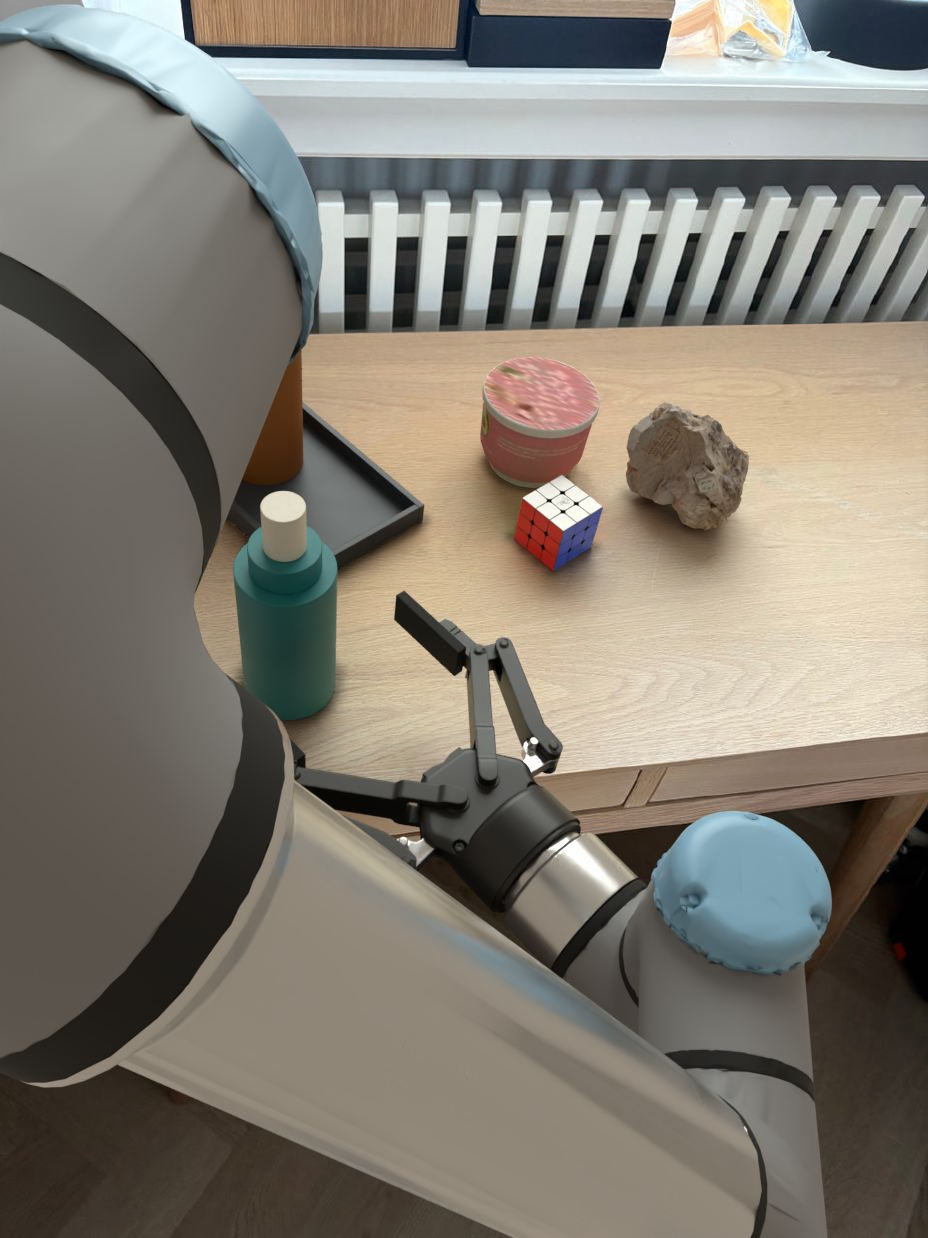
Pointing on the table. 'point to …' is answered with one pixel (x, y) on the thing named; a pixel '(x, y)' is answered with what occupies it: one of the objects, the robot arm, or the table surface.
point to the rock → (686, 465)
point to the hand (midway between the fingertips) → (322, 651)
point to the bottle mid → (280, 433)
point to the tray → (336, 495)
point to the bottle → (287, 610)
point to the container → (536, 419)
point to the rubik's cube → (557, 522)
